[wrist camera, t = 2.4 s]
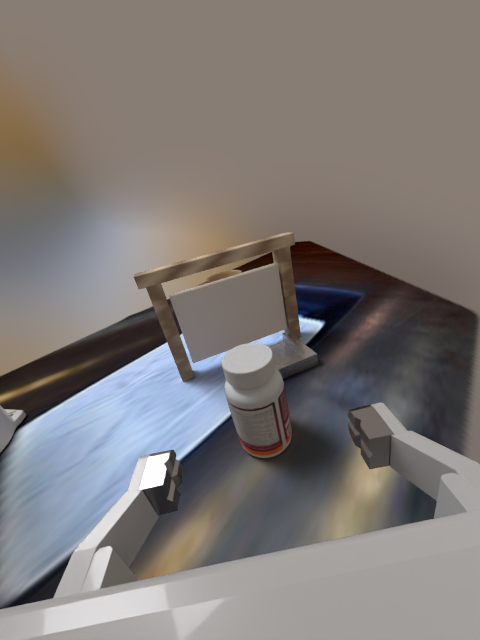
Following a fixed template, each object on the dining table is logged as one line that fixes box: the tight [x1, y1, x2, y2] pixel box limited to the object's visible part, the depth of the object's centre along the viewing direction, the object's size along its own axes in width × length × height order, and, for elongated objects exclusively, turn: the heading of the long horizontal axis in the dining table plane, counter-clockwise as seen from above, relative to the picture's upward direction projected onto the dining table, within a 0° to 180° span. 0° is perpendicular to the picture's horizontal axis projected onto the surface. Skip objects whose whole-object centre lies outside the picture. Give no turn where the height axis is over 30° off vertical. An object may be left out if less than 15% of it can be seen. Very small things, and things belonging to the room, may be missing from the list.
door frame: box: [134, 233, 301, 382], centre depth 41 cm, size 25×2×19 cm, turn 109°
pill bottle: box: [222, 343, 292, 458], centre depth 26 cm, size 6×6×11 cm
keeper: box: [269, 332, 318, 379], centre depth 41 cm, size 10×9×2 cm
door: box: [169, 263, 287, 363], centre depth 42 cm, size 18×3×12 cm, turn 109°
